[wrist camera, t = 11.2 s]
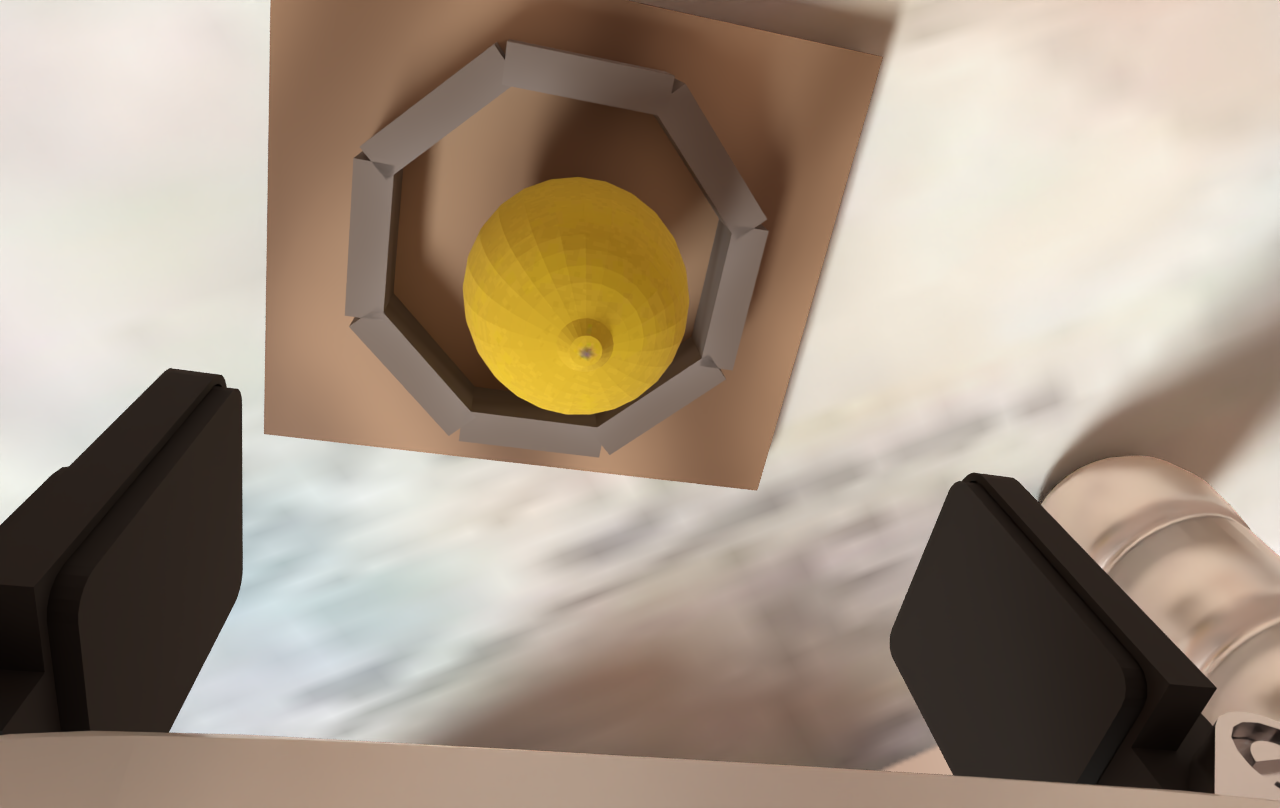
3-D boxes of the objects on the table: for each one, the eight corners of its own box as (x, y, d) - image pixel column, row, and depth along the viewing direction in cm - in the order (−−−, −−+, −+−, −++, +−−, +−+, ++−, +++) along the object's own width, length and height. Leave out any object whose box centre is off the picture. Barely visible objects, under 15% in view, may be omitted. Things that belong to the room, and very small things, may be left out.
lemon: (459, 322, 25) (430, 447, 18) (492, 133, 23) (474, 188, 16) (638, 356, 26) (679, 487, 19) (685, 180, 24) (752, 252, 17)
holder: (863, 54, 24) (909, 60, 21) (746, 468, 30) (770, 519, 27) (288, -73, 22) (248, -87, 19) (277, 412, 27) (245, 462, 24)
